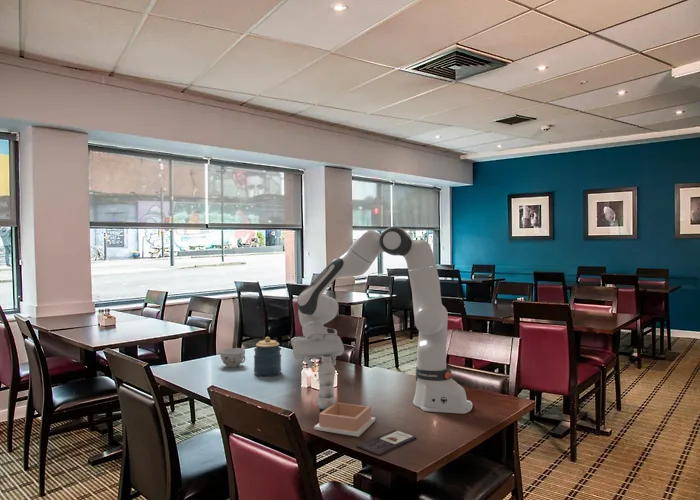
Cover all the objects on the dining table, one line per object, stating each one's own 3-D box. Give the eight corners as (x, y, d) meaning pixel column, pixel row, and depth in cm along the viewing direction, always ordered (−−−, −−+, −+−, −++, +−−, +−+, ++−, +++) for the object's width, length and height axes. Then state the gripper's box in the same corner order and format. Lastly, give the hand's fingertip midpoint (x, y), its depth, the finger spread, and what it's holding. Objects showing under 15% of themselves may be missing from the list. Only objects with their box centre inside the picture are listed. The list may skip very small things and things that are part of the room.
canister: (286, 373, 234) (286, 337, 234) (263, 378, 226) (263, 340, 225) (271, 368, 244) (271, 333, 244) (248, 373, 235) (248, 336, 235)
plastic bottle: (325, 404, 189) (325, 353, 188) (338, 408, 184) (338, 355, 184) (314, 409, 184) (313, 356, 183) (327, 413, 179) (327, 358, 179)
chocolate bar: (356, 445, 149) (394, 429, 162) (356, 448, 149) (394, 432, 162) (378, 454, 143) (416, 437, 156) (378, 457, 143) (416, 440, 156)
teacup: (214, 367, 247) (214, 351, 247) (233, 362, 258) (233, 346, 258) (235, 371, 239) (235, 354, 239) (253, 366, 249) (253, 350, 249)
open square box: (375, 420, 172) (375, 406, 172) (358, 436, 157) (358, 421, 157) (334, 414, 178) (334, 400, 178) (314, 429, 164) (314, 414, 164)
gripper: (291, 332, 191) (298, 363, 182) (340, 329, 199) (349, 358, 190) (288, 342, 195) (294, 372, 186) (336, 338, 203) (344, 367, 194)
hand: (322, 365), depth 188 cm, fingers open, 8 cm apart
